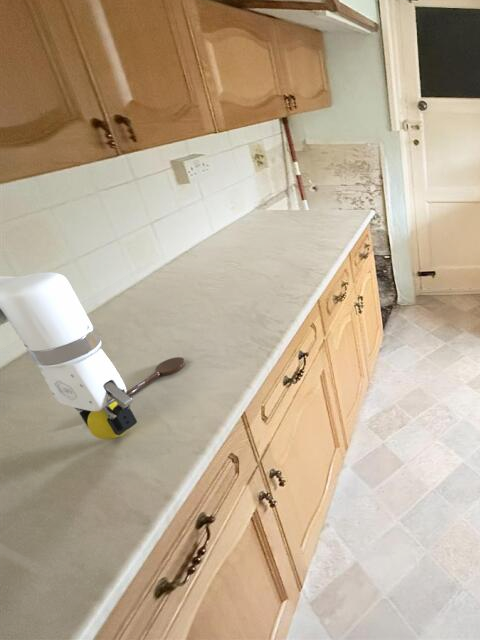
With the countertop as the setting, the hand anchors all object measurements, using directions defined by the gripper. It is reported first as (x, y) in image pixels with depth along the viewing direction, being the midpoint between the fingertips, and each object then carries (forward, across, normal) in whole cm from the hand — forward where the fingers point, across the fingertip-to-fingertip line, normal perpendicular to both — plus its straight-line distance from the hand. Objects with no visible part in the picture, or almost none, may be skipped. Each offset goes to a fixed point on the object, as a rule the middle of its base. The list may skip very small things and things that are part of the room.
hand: (113, 424), depth 72 cm
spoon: (+3, -9, +11) cm, 15 cm away
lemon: (+3, 0, 0) cm, 3 cm away
